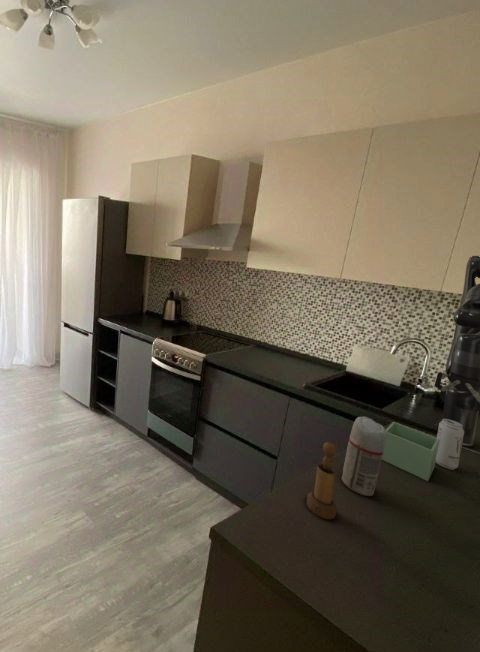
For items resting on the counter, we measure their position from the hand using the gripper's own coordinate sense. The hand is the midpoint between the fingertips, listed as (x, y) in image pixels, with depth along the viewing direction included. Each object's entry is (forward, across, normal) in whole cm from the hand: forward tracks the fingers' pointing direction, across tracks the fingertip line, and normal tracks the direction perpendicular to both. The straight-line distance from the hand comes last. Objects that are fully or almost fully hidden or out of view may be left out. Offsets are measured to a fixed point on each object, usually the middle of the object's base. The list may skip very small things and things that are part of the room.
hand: (459, 406), depth 121 cm
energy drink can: (+18, 0, +15) cm, 23 cm away
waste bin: (+17, +8, +27) cm, 33 cm away
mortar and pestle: (+18, +17, +77) cm, 81 cm away
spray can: (+18, +14, +57) cm, 61 cm away
